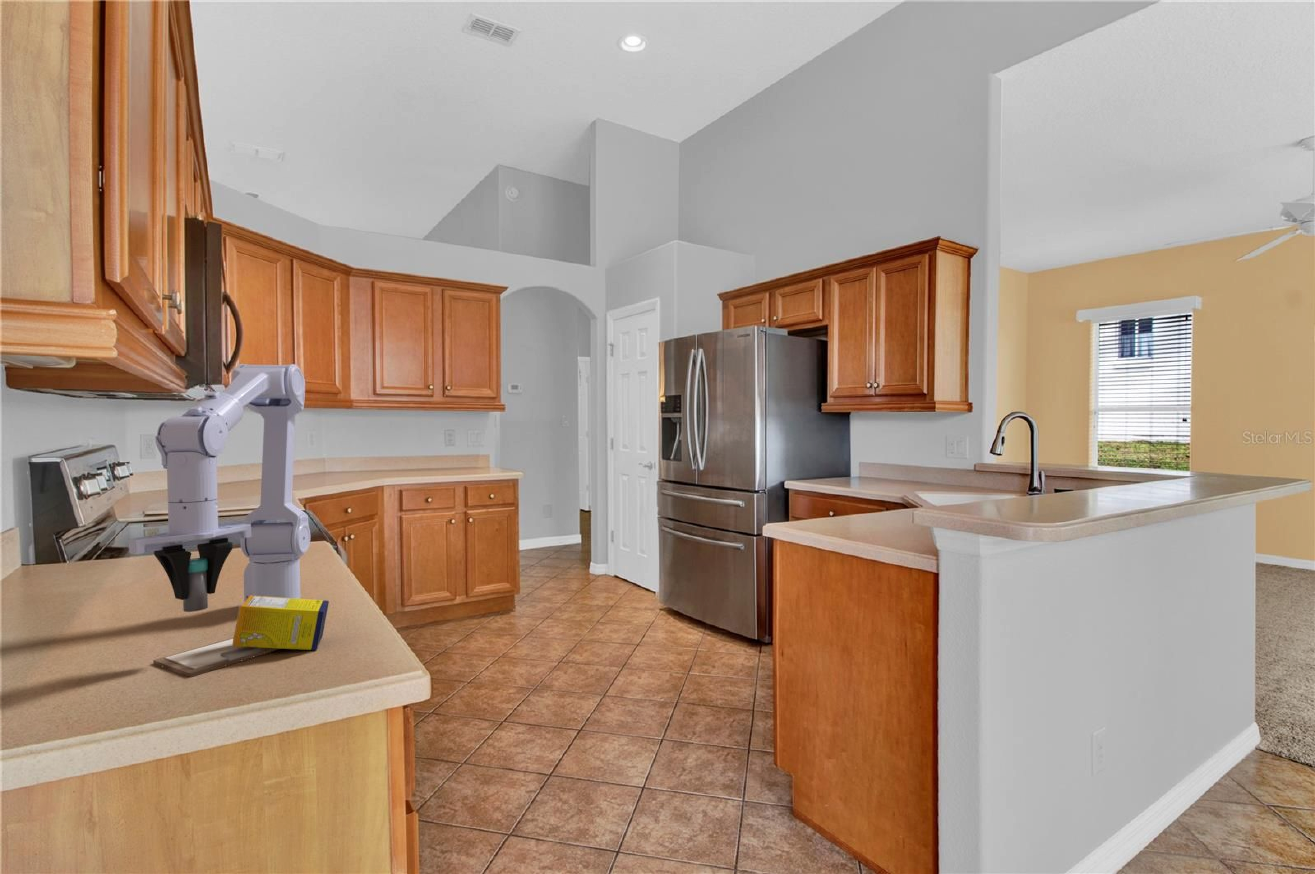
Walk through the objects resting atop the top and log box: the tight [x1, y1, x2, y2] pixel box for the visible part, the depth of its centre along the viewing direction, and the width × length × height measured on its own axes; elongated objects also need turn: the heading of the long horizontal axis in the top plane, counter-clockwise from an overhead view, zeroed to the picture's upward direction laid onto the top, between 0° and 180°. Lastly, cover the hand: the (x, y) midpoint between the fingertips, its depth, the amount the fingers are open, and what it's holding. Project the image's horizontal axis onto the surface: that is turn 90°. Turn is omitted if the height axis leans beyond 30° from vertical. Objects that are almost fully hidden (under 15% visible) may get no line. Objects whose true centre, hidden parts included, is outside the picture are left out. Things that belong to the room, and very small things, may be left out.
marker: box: [182, 557, 209, 613], centre depth 90 cm, size 3×3×7 cm
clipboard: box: [152, 637, 281, 678], centre depth 93 cm, size 10×16×1 cm, turn 151°
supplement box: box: [232, 595, 330, 651], centre depth 94 cm, size 6×6×11 cm
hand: (195, 595), depth 90 cm, fingers closed on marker, 3 cm apart
